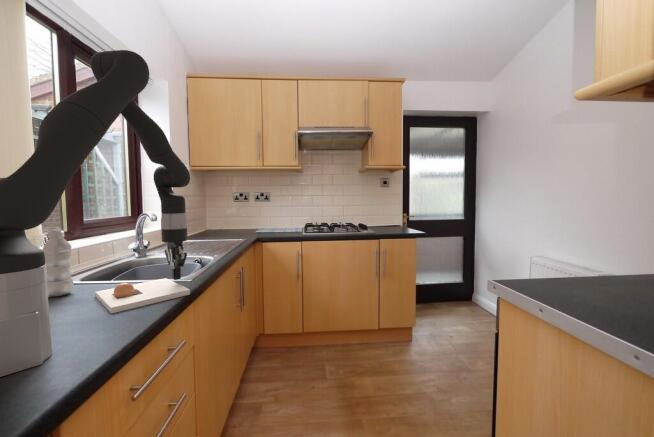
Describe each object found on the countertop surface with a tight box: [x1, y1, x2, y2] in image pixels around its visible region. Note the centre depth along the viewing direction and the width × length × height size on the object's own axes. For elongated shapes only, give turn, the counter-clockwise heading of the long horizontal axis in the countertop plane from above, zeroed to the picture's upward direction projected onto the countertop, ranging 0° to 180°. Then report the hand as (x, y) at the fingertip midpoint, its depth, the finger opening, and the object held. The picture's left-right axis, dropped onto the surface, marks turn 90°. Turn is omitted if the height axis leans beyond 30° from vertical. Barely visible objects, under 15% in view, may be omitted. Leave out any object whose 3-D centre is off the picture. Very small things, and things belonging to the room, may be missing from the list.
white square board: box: [94, 277, 191, 314], centre depth 90 cm, size 20×20×2 cm
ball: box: [114, 282, 134, 299], centre depth 86 cm, size 5×5×5 cm
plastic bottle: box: [42, 230, 75, 297], centre depth 90 cm, size 6×7×20 cm
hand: (176, 279), depth 97 cm, fingers closed
